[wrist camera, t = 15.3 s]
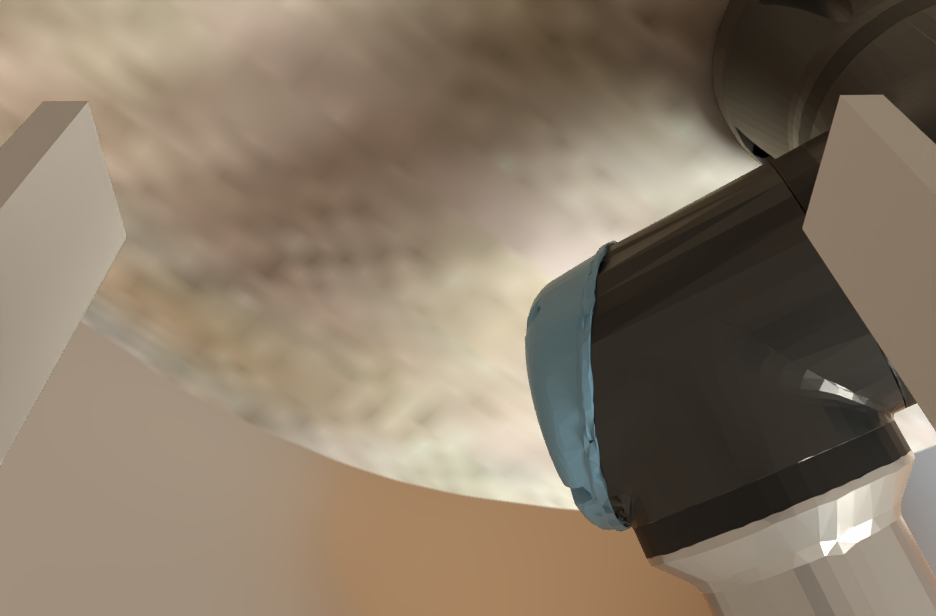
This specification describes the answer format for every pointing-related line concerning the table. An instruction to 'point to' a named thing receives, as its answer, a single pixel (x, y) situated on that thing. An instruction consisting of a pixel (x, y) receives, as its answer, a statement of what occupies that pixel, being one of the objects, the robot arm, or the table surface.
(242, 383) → the table surface
